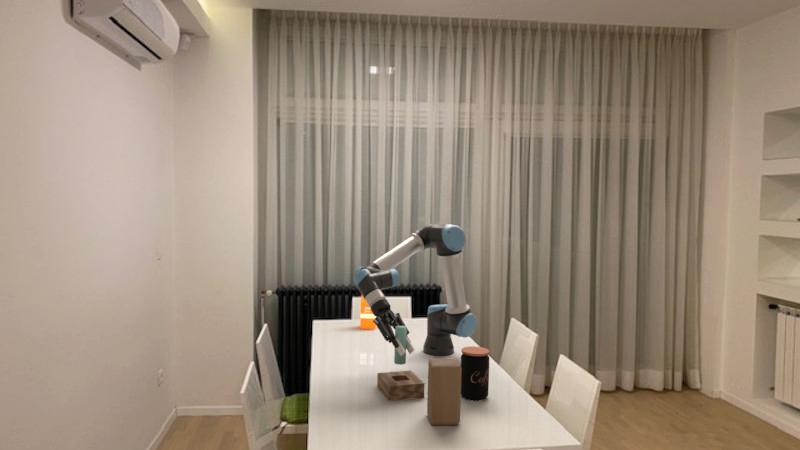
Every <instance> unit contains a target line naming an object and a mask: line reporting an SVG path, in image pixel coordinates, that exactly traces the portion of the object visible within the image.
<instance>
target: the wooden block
mask: <svg viewBox="0 0 800 450" xmlns="http://www.w3.org/2000/svg"><path fill="white" fill-rule="evenodd" d="M427 364H428V366H427V367H428V368H427V402H426V403H427V404H426V407H427V408H426V409H427V410H426V414H427V416H428V419H429V422H430V424H431V425H432V426H436V425H437V426H445V425H447V426H448V425H449V426H451V425H452V426H453V425H454V426H455V425H460V423H461V401H462V400H461V398H462V396H461V369H462V368H461V364H460V363H459V361H458V360H457V359H456V358H429V359H428V362H427Z"/></svg>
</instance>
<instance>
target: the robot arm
mask: <svg viewBox="0 0 800 450" xmlns="http://www.w3.org/2000/svg"><path fill="white" fill-rule="evenodd" d="M466 239H467V238H466V234H465V232H464V230H463V228H461V227H460V226H459V225H456V224H455V225H454V224H450V223H447V224H446V223H428V224H425V225H424V226H422V227H420V228H418V229H416V230H415V231H413V232H412V233H410V234H409V236H408V238H406V239H405V240H403V241H402V242H401V243H399V244H397V245H396V246H394V247H393V248H392V249H390V250H389V251H387V252H386V253H384V254H383V255H381V256H379V257H378V258H377V259H375V260H374V261H372V262H371V263H369V264H368V265H366V266H364V265H363V266H362V265H360V266H358V267H357V268H356V269H354V270H355V271H354V272H353V273H354V275H353V277H352V279H353V283H354V284H355V286H356V288H357V290H358V291H359V293H360V294H361V296H363V297H364V299H365V301H366V302H367V304H368V306H369V307H370V308H371V311H372V313H373V314H374V316H376V318H375V319H374V320H373V322H374V323H375V324H376V328H377V329H378V330H379V332H380V333H381V335H382V336H383V338H384V340H385V341H386V342H388V343H389V344H392V346H393V347H394V349H395V348H396V349H397V351H398V352H399V354H400V356H403V355H404V354H405V352H406V353H407V352H408V354H409V355H410V354H412V353H413V352H414V351H415V348H414V346H413V344H412V342H411V340H410V338H409V336H408V335H409V334H410V331H409V329H408V328H407V335H406V351H405V349H404V348H403V346H402V344H401V343H400V341H399V339H398V338H396V339H395V332H394V330H395V326H406V323H404V320H403V319H402V317H401V314H400V312H396V313H394V311H393V310H392V309H391V304H390V303H389V301H388V299H387V298H386V296H385V294H384V293H383V291H382V290H386V289H390V288H391V289H393V288H394V287H396V286H398V285H399V284H400V282H401V281H400V280H401V279H400V274H399V272H398V271H397V269H395V268H396V267H397V266H399V265H400V264H402V263H403V262H404V261H406V260H408V259H409V258H411V257H412V256H414V255H415V254H416V253H418V252H419V253H422V252H423V251H425V250H427V249H435V250H436V256H437V257H439V258H440V261H441V267H442V276H443V281H444V282H443V283H444V288H445V295H446V302H447V304H443V303H440V304H432V305H429V306H428V308H427V314H426V316H427V318H426V327H427V328H426V330H427V332H426V338H425V340H424V342H423V346H422V347H423V348H422V351H423V352H424V353H425V354H428V355H433V356H447V355H448V356H449V355H452V354H453V353H454V352H455V346H454V342H453V339H452V336H451V335H453V336H457V337H459V338H468V337H470V336H472V335H473V334H474V332H475V330H476V329H477V325H478V319H477V315H475V314H474V313H472V312H471V306H470V305H469V304H468V303H467V302H466V301H467V300H466V293H465V286H464V280H463V274H462V272H463V271H462V266H461V265H462V264H461V258H460V255H461V254H462V252H463V248H464V247H465V244H466ZM393 329H394V330H393Z"/></svg>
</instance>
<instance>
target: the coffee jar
mask: <svg viewBox="0 0 800 450" xmlns="http://www.w3.org/2000/svg"><path fill="white" fill-rule="evenodd" d="M460 351H461V353H462V354H461V356H460V366H461V368H462V369H461V398H463V399H464V398H465V399H464V400H467V401H471V400H473V401H474V402H480V401H479V400H482V401H484V399H485V400H486V399H487V397H488V396H489V382H490V380H489V379H490V356H489V355H490V350H489V349H488V348H485V347H482V346H464V347H462V348H461V349H460ZM473 401H472V402H473Z"/></svg>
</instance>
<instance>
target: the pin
mask: <svg viewBox="0 0 800 450" xmlns="http://www.w3.org/2000/svg"><path fill="white" fill-rule="evenodd" d="M407 329H408V327H407V326H406V325H405V326H395V329H394V335H395V339H396V338H398V339H399V341H400V343H401V344H402V346H403V348H404V349H405V351H406V352H405V354H404V355H403V356H400V354H399V352H398V351H397V349H396V348H395V347H394V358H393V359H394V364H395V365H405V364H406V363H407V360H406V359H407V349H406V335H407ZM407 336H408V335H407Z"/></svg>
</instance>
